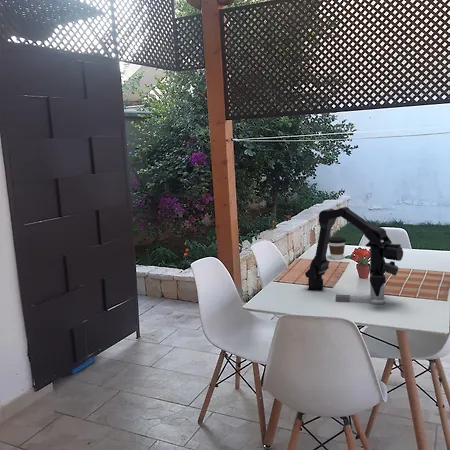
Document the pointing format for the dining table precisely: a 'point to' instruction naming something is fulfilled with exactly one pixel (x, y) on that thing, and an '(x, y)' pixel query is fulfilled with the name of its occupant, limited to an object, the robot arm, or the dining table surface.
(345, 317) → the dining table surface
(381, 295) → the gray block
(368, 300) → the gray handled tool
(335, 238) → the coffee cup
